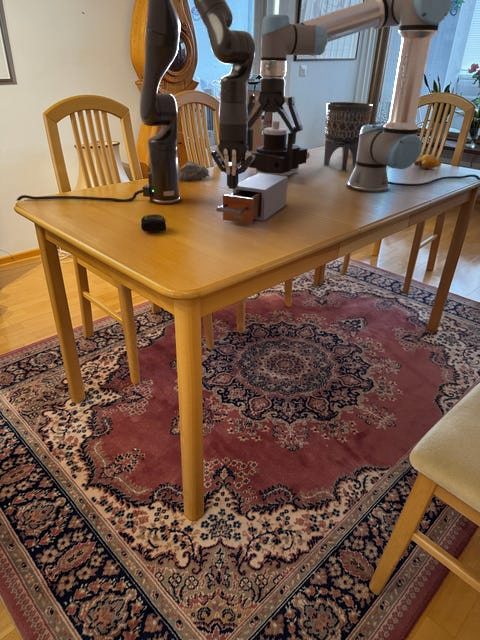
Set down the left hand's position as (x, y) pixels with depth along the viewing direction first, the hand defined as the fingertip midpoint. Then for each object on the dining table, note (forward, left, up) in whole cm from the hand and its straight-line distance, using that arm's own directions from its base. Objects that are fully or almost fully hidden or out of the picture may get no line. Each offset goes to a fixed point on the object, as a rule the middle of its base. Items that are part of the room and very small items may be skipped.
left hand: (232, 188), depth 127 cm
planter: (+23, +100, -12) cm, 103 cm away
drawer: (+2, +9, -11) cm, 14 cm away
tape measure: (-20, -10, -12) cm, 25 cm away
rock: (-32, +53, -12) cm, 63 cm away
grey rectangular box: (+4, +21, -12) cm, 24 cm away
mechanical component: (-1, +76, -12) cm, 77 cm away
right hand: (+4, +26, +5) cm, 27 cm away
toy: (+61, +113, -12) cm, 129 cm away
